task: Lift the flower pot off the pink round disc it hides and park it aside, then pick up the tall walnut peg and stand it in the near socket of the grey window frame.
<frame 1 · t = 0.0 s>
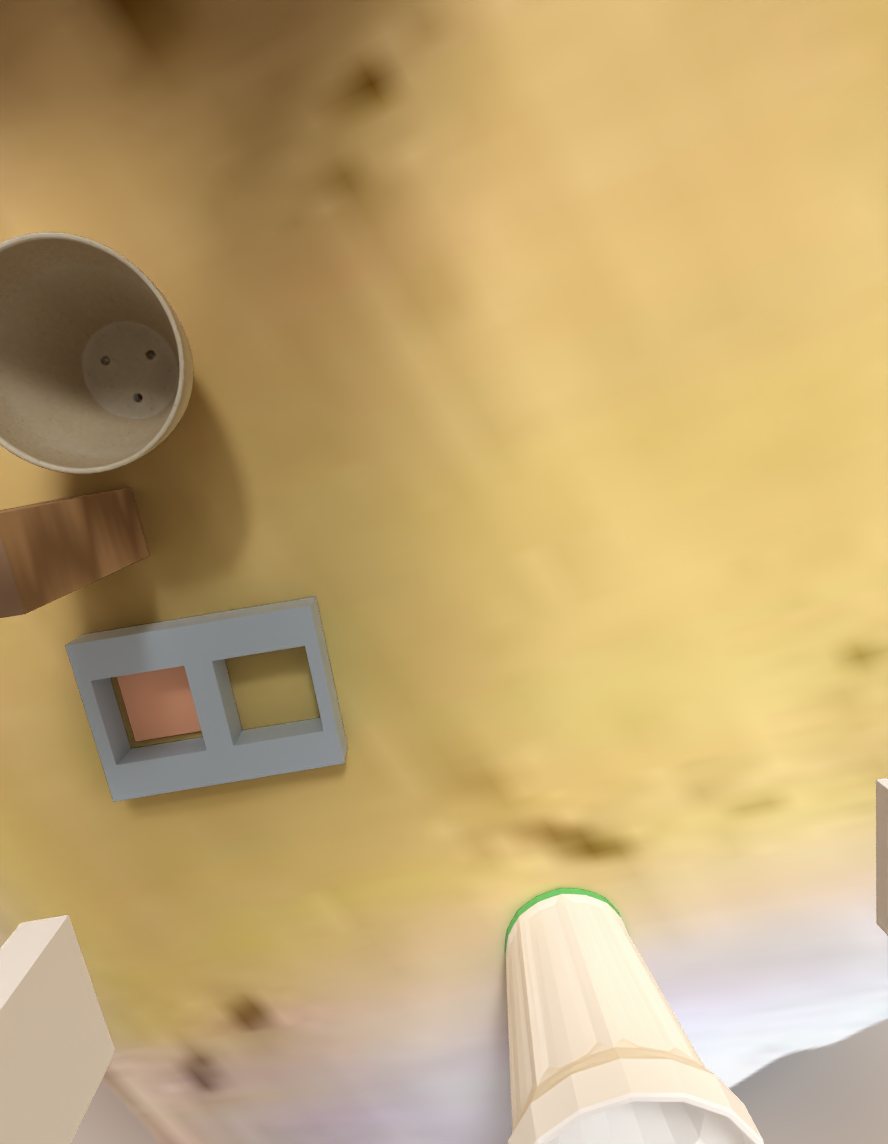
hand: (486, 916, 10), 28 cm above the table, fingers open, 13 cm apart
flower pot: (138, 372, 34), on the table, touching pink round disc
peg: (105, 527, 36), on the table
grey window frame: (219, 692, 39), on the table
cup 2: (564, 937, 44), on the table
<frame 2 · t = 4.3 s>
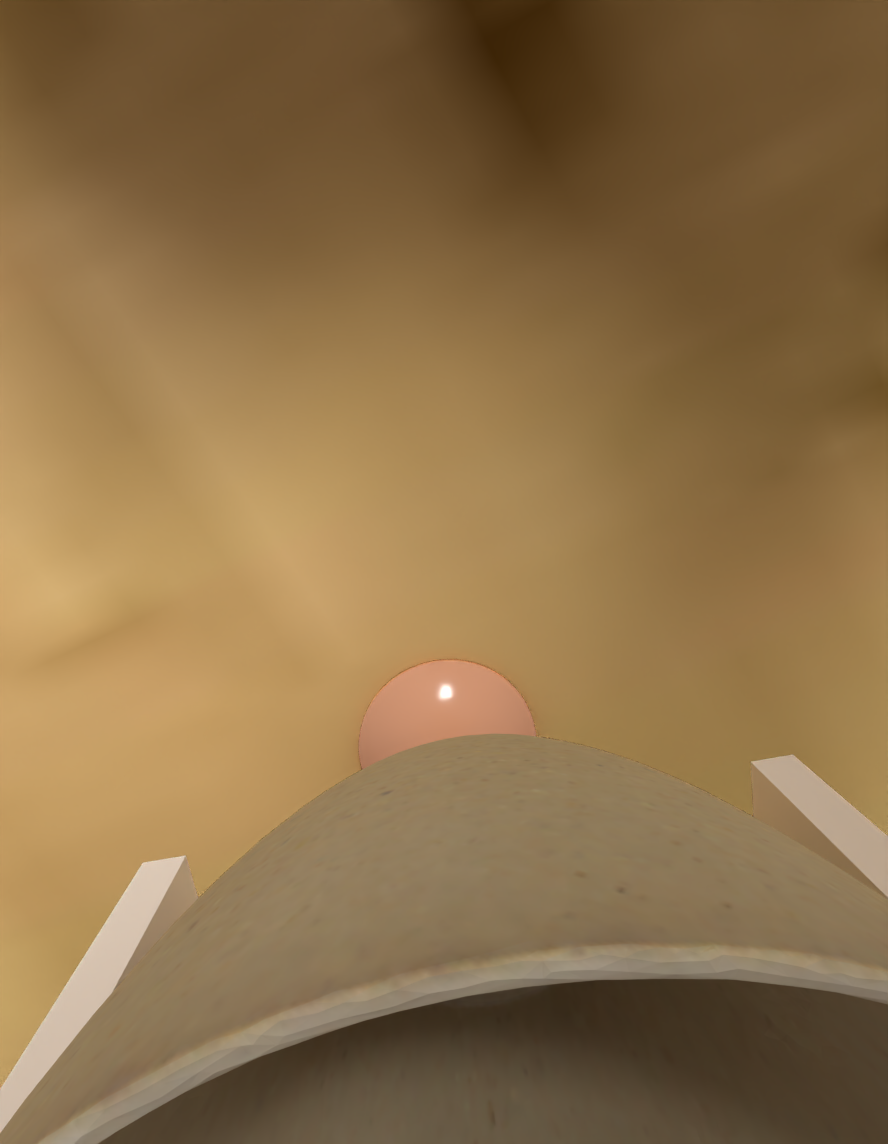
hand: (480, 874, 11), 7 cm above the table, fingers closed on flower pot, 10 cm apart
flower pot: (479, 859, 11), point 6 cm above the table, touching gripper
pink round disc: (447, 743, 18), on the table
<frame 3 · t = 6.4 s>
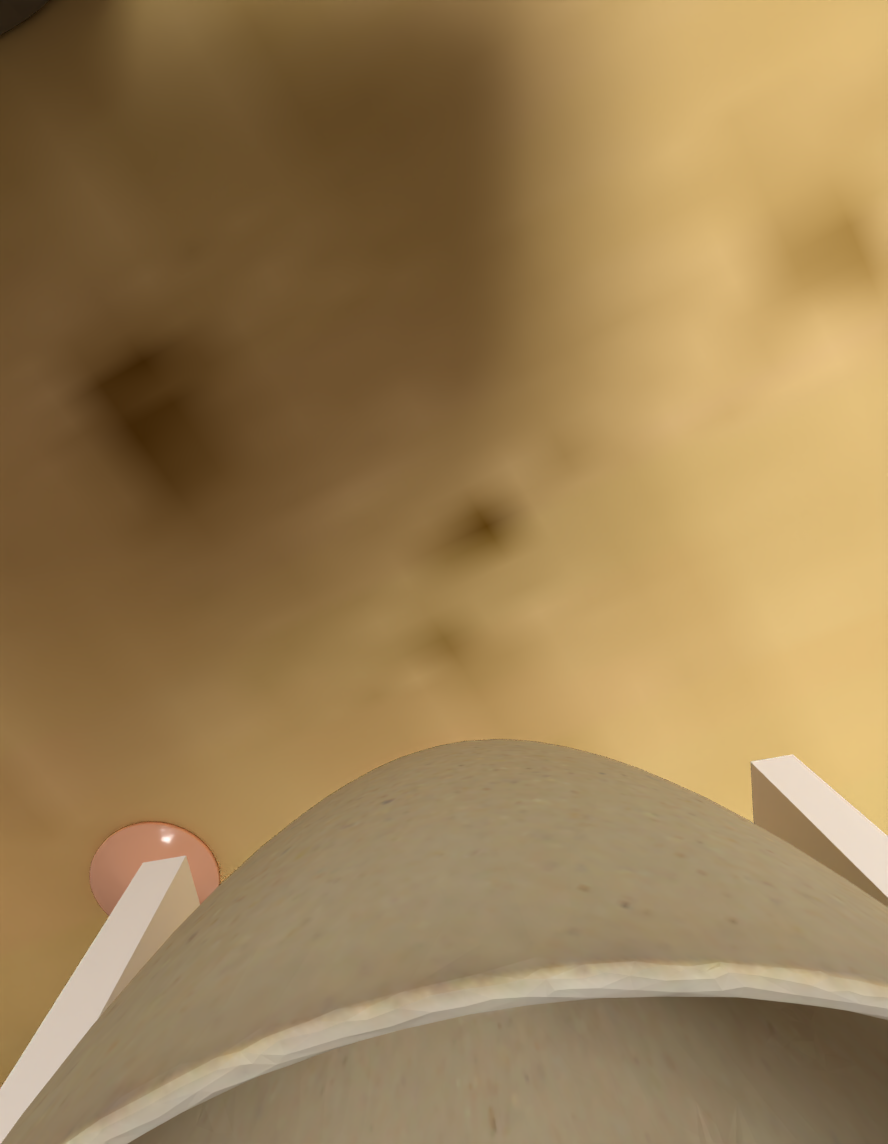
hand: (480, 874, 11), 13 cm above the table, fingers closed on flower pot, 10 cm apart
flower pot: (480, 864, 11), point 12 cm above the table, touching gripper
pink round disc: (156, 877, 25), on the table
when the fingers open (1 cm above the table, at t = 8.5 s): flower pot drops 1 cm, on the table.
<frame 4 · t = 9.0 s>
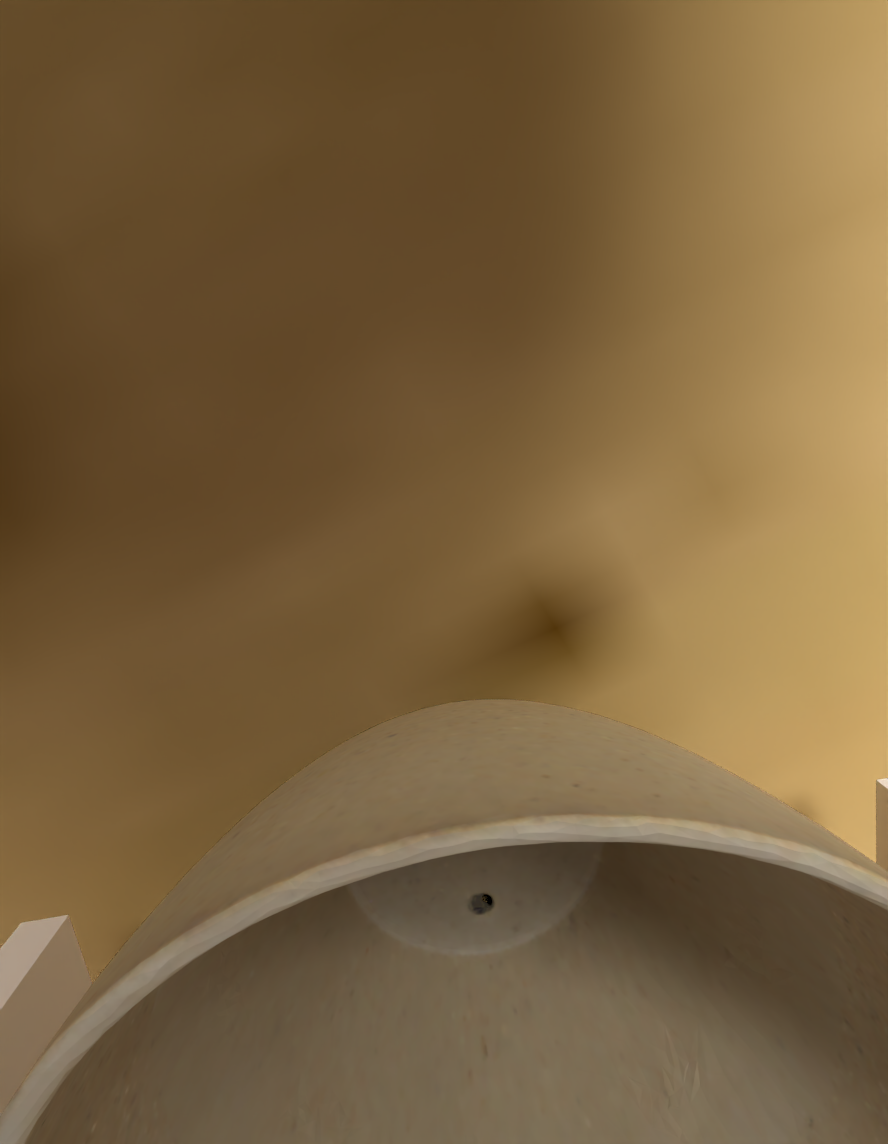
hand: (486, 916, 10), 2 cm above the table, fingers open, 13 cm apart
flower pot: (473, 822, 13), on the table
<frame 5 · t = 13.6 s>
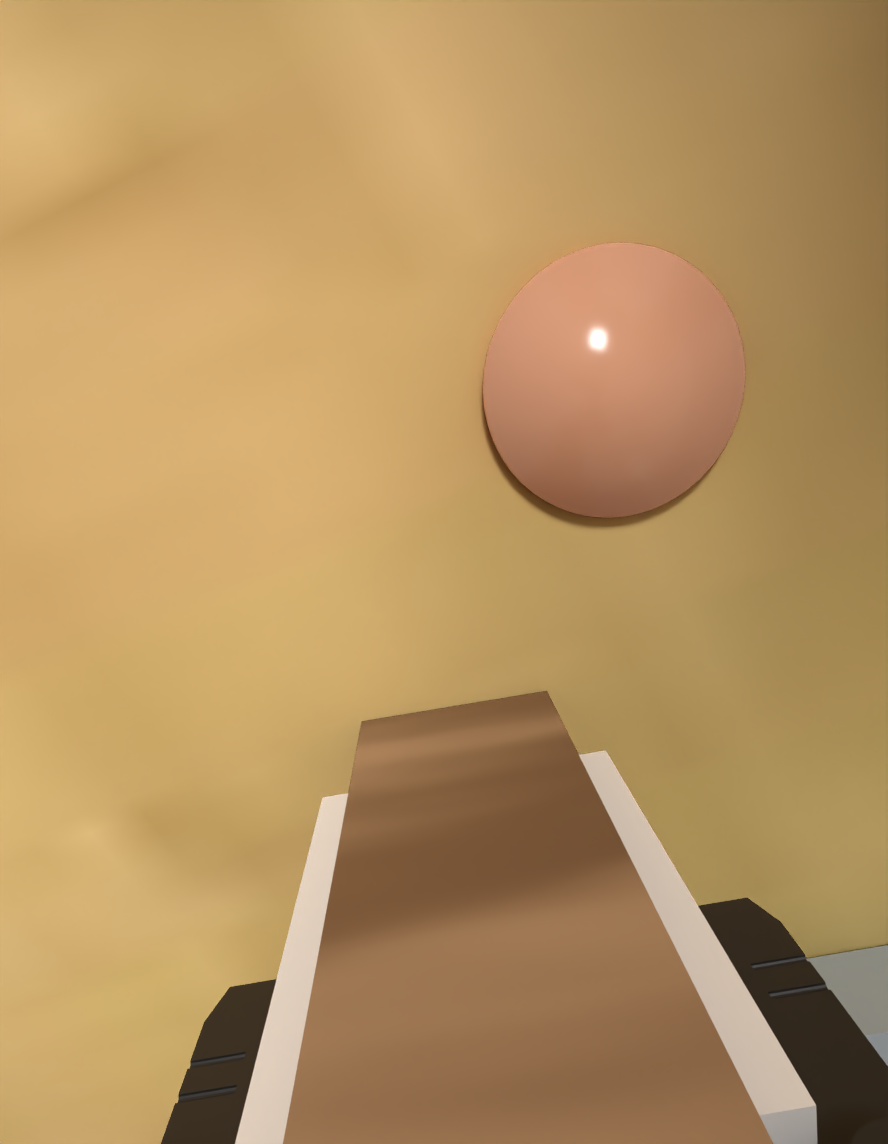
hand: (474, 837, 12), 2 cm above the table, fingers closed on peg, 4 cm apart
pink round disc: (612, 387, 12), on the table
peg: (468, 789, 14), on the table, touching gripper
grey window frame: (682, 1139, 16), on the table
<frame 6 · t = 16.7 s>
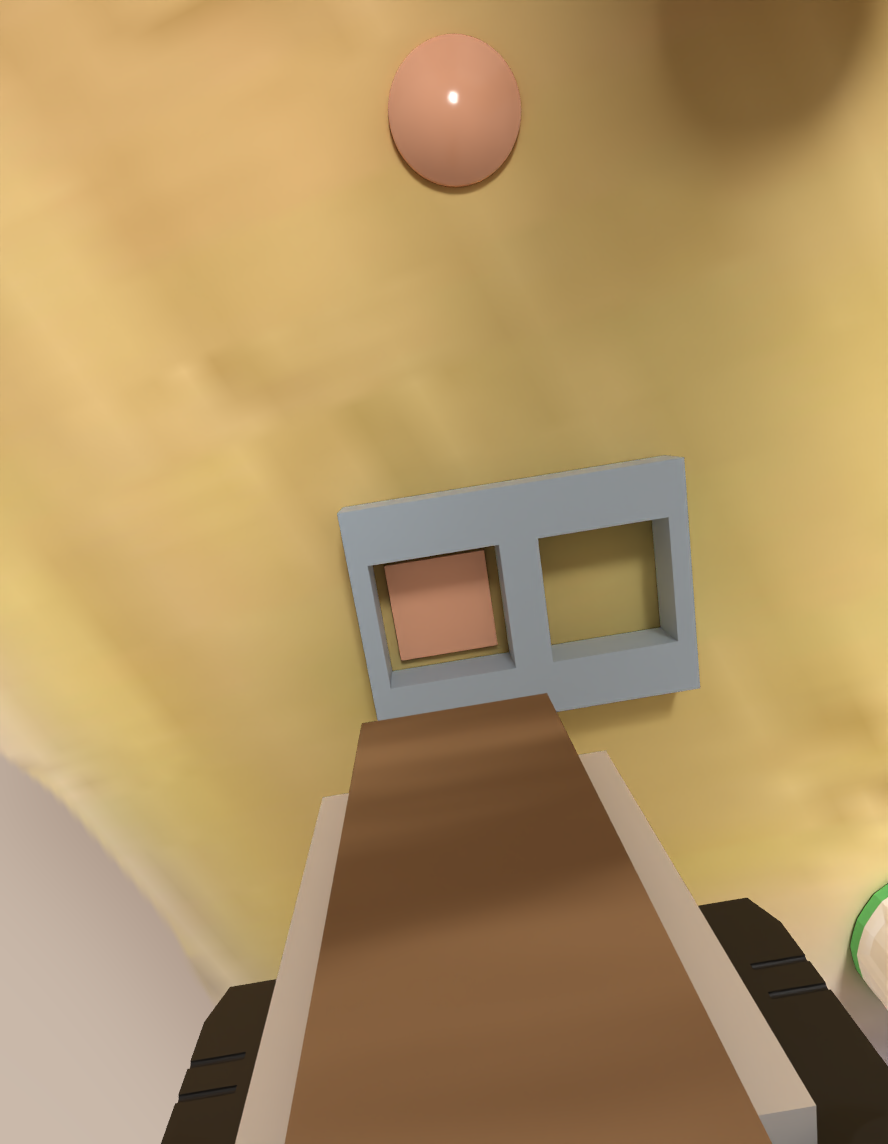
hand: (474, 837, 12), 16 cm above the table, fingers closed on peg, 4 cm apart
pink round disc: (454, 113, 24), on the table
peg: (468, 791, 14), point 15 cm above the table, touching gripper
grey window frame: (519, 592, 28), on the table
when the fingers open (3 cm above the table, at t = 19.7 s): peg drops 1 cm, resting on grey window frame.
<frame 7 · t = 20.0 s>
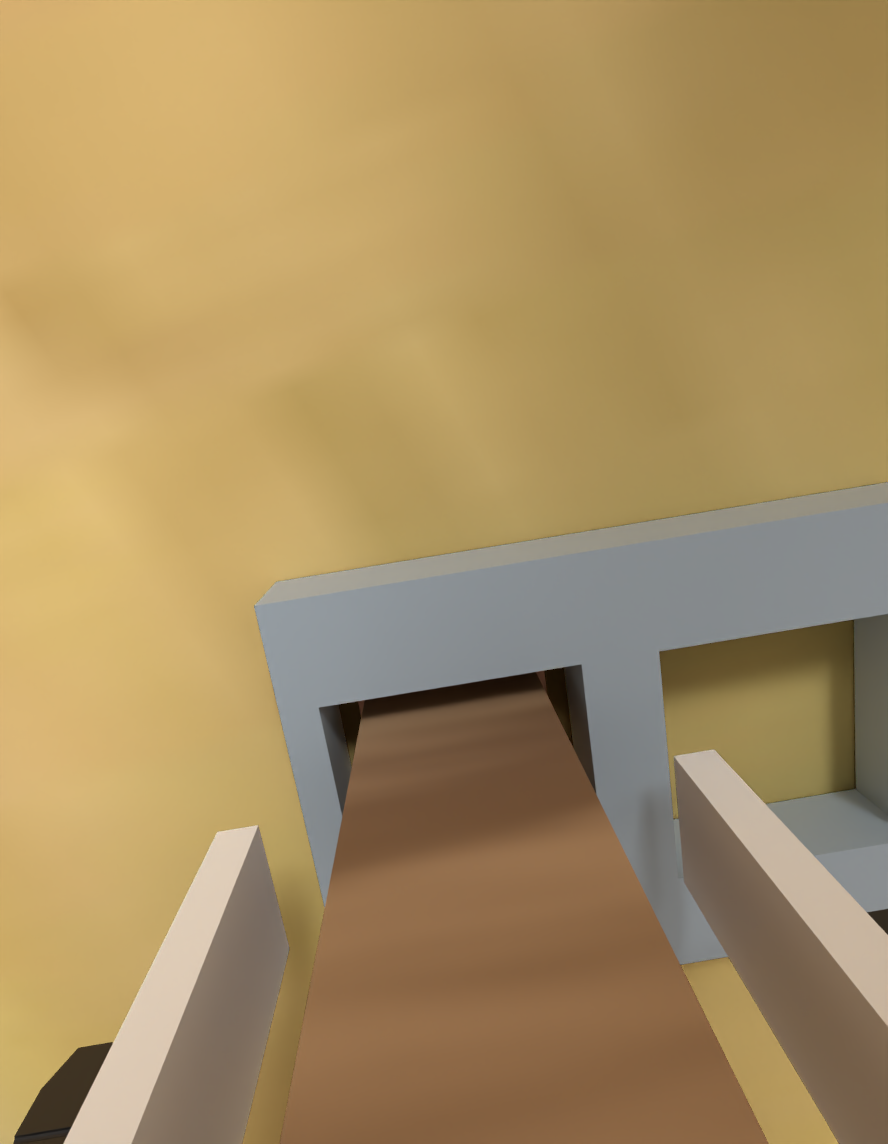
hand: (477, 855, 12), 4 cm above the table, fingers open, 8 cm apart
peg: (462, 760, 15), resting on grey window frame
grey window frame: (604, 732, 15), on the table
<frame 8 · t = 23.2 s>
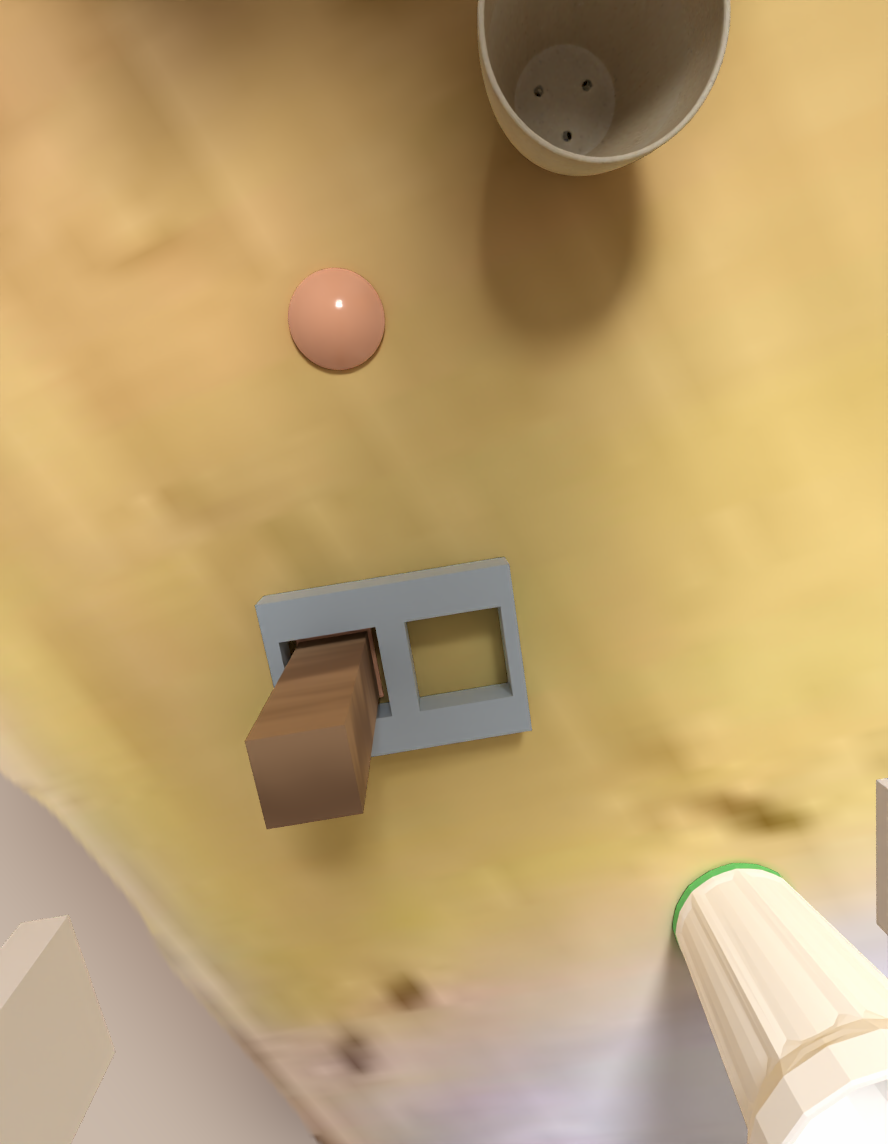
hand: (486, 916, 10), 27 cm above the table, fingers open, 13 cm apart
flower pot: (562, 111, 32), on the table
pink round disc: (337, 320, 33), on the table
peg: (339, 668, 37), resting on grey window frame
grey window frame: (398, 657, 37), on the table
cup 2: (732, 914, 43), on the table
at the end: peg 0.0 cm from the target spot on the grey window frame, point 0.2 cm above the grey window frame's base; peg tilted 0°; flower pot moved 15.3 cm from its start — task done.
